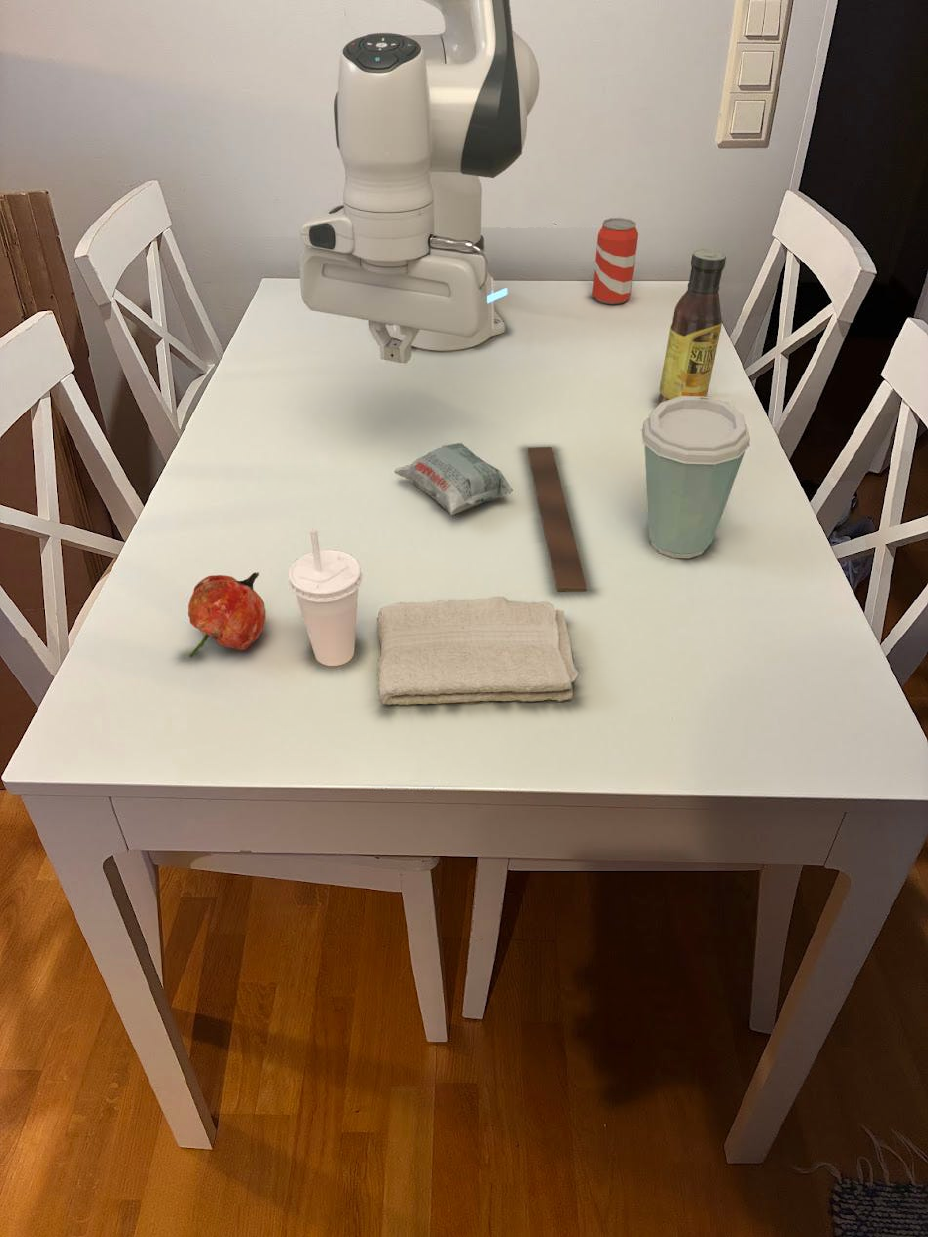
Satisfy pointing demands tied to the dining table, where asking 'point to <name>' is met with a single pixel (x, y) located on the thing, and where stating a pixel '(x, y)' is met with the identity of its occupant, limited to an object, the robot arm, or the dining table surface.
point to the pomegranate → (227, 611)
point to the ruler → (556, 521)
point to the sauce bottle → (694, 330)
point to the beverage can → (615, 261)
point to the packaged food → (456, 478)
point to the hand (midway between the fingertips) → (395, 359)
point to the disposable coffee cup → (690, 470)
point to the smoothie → (328, 601)
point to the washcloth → (473, 652)
